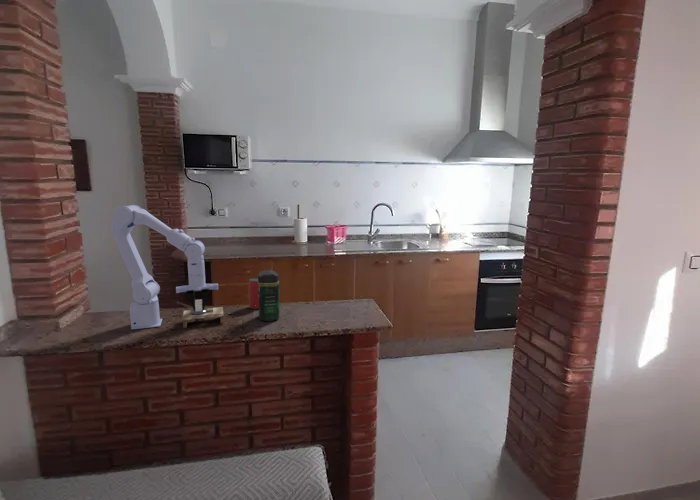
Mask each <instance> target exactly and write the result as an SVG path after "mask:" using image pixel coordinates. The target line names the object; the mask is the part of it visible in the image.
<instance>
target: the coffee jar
mask: <svg viewBox="0 0 700 500" xmlns="http://www.w3.org/2000/svg"><path fill="white" fill-rule="evenodd" d="M257 278H258V298H259V309H258V318H259V320H260V321H263V322H265V321H266V322H273V321H276V320H278V319H280V279H279V274H278V273H277V272H276V271H274V270H273V269H267V270H262V271H260V272H259V273H258V274H257Z"/></svg>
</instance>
